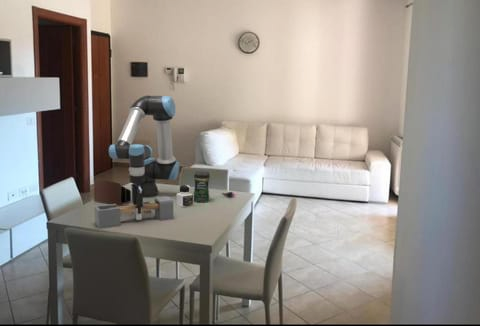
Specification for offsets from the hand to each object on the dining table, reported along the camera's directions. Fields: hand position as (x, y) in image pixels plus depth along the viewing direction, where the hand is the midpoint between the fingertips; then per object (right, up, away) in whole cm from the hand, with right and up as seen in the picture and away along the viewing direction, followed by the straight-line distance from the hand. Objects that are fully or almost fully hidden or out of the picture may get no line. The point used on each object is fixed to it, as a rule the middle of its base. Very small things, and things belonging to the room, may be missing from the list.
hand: (137, 217), depth 241 cm
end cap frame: (-1, -1, -1) cm, 2 cm away
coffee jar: (+30, +5, +41) cm, 51 cm away
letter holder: (-22, +5, +34) cm, 41 cm away
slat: (0, +4, -1) cm, 4 cm away
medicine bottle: (+21, +4, +31) cm, 37 cm away
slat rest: (-7, +1, +11) cm, 13 cm away
